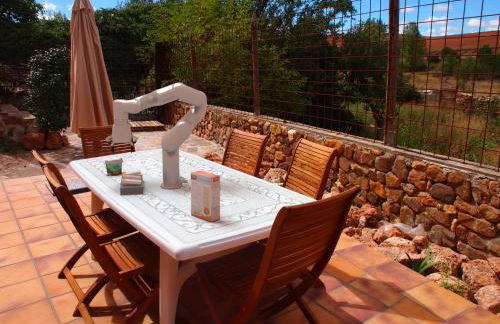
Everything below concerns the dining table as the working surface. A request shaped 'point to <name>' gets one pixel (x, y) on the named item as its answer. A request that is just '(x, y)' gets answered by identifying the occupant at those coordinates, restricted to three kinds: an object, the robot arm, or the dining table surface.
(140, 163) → the dining table surface
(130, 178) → the rocker middle
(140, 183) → the rocker near
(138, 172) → the rocker far
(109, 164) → the food container
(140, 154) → the dining table surface
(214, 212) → the cracker box
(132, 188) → the grey switch panel
